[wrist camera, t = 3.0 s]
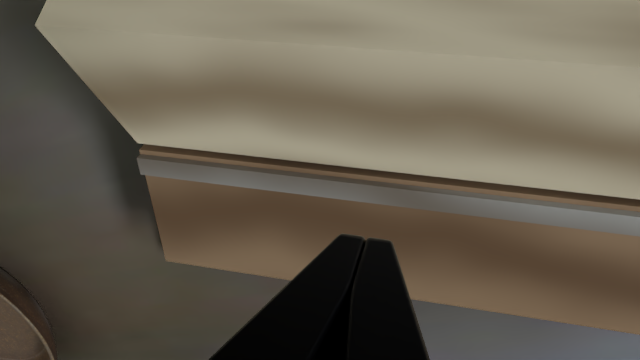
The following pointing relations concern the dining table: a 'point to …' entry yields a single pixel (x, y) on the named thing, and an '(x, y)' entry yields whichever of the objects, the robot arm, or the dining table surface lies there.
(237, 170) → the floor base
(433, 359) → the dining table surface
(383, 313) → the robot arm
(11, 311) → the saucer
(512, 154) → the click plank
